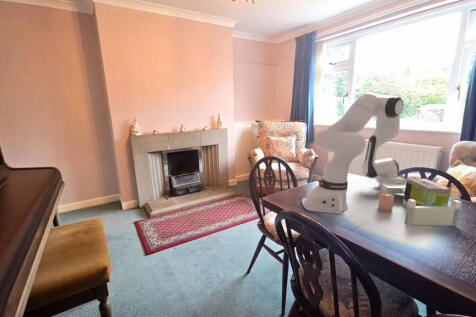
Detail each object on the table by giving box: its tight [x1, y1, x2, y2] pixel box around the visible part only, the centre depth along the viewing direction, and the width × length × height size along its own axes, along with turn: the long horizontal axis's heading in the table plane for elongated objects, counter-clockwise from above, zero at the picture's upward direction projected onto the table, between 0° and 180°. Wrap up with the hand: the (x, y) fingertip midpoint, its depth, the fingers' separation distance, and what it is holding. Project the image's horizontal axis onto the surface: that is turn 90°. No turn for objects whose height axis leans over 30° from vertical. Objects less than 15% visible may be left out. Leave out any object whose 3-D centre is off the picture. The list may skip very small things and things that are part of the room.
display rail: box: [404, 199, 462, 227], centre depth 98 cm, size 20×2×11 cm, turn 86°
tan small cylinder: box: [377, 192, 395, 214], centre depth 112 cm, size 6×6×8 cm
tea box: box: [402, 178, 452, 208], centre depth 109 cm, size 15×10×15 cm
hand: (411, 194), depth 117 cm, fingers closed
